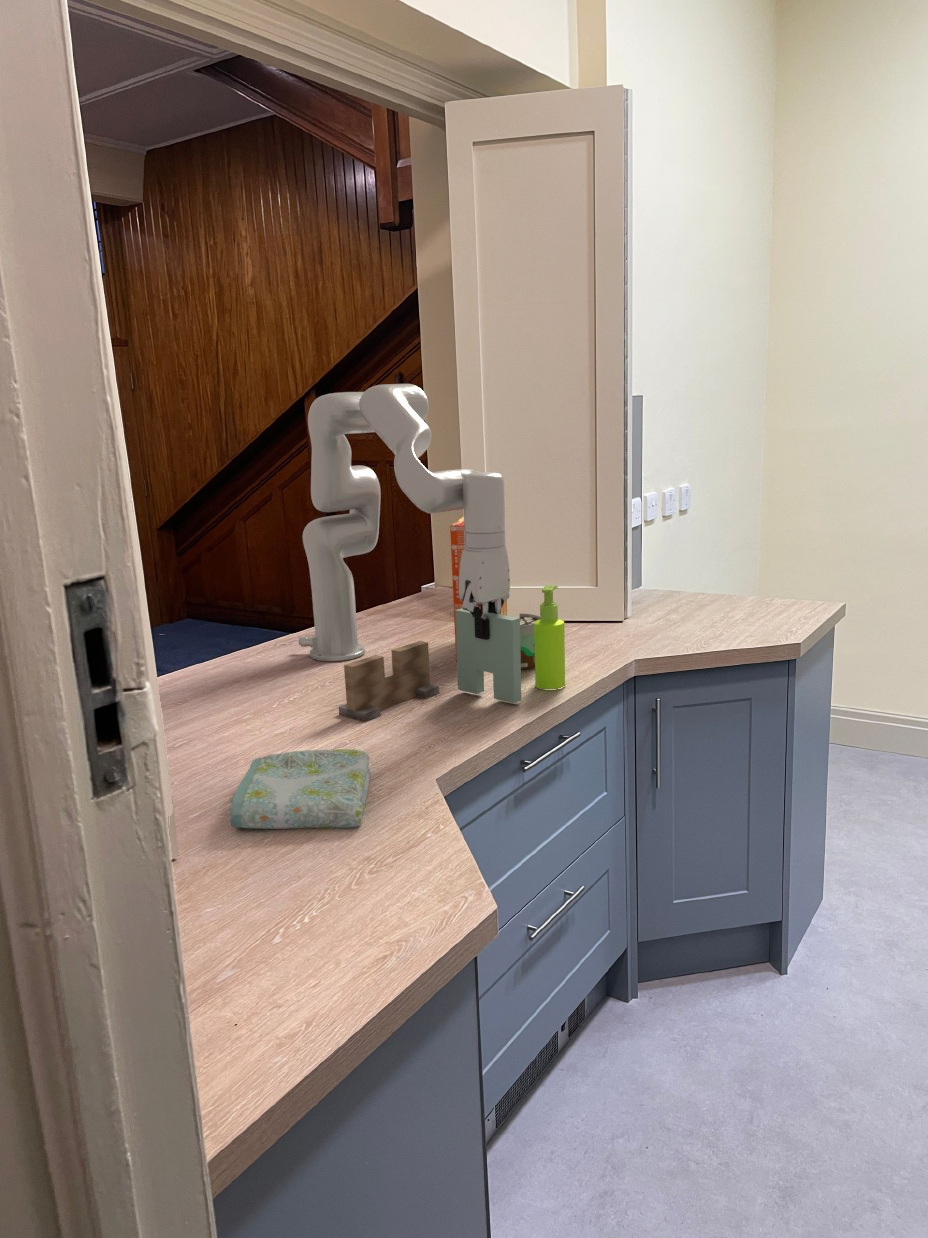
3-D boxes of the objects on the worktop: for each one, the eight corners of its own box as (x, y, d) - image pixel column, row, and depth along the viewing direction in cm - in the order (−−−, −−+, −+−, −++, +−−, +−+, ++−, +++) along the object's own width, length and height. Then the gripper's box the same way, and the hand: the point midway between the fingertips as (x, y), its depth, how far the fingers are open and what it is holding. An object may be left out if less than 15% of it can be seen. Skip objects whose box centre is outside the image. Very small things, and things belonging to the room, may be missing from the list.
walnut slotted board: (364, 721, 171) (361, 669, 169) (339, 714, 176) (335, 662, 173) (439, 693, 185) (437, 644, 183) (413, 686, 190) (411, 639, 188)
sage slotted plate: (514, 703, 175) (512, 620, 171) (457, 689, 184) (455, 610, 180) (521, 700, 177) (519, 617, 173) (465, 686, 186) (462, 607, 182)
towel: (373, 772, 149) (371, 741, 148) (362, 833, 129) (359, 798, 127) (258, 777, 149) (255, 747, 148) (228, 840, 128) (225, 805, 127)
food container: (542, 673, 195) (540, 627, 193) (512, 673, 196) (511, 626, 194) (548, 657, 207) (547, 613, 205) (521, 656, 208) (519, 612, 206)
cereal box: (492, 663, 204) (487, 525, 197) (456, 662, 206) (450, 526, 199) (507, 636, 226) (503, 511, 219) (474, 635, 228) (469, 511, 221)
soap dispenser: (569, 680, 190) (567, 583, 185) (561, 691, 183) (559, 591, 179) (541, 679, 192) (538, 582, 187) (532, 689, 185) (529, 590, 181)
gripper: (496, 532, 182) (498, 625, 186) (440, 545, 170) (444, 643, 175) (527, 535, 177) (528, 630, 181) (471, 548, 165) (474, 649, 170)
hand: (487, 636), depth 178 cm, fingers closed on sage slotted plate, 2 cm apart
